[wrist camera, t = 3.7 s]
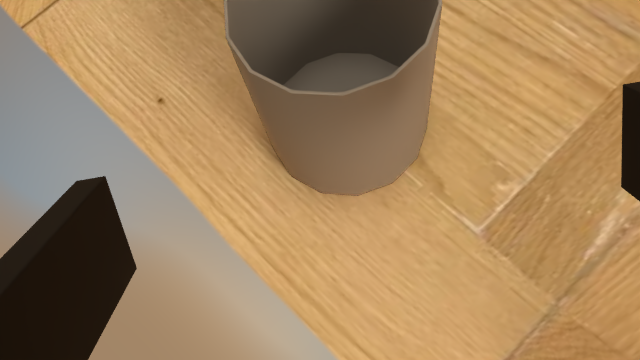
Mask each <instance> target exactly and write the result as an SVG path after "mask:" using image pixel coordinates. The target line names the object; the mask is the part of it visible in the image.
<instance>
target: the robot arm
mask: <svg viewBox="0 0 640 360" xmlns="http://www.w3.org/2000/svg"><path fill="white" fill-rule="evenodd" d="M621 187H622V188H623V189H625V190H626V191H627V192H628V193H630V194H631V195H632V196H634V197H635V198H636V199H637V200H639V201H640V82H635V83H630V84H624V85H623V111H622V178H621ZM135 270H136V265H135V262H134V259H133V256H132V253H131V250H130V247H129V244H128V242H127V239H126V235H125V233H124V230H123V227H122V224H121V221H120V218H119V215H118V212H117V209H116V206H115V203H114V200H113V198H112V195H111V192H110V189H109V186H108V183H107V180H106V177H104V176H103V177H98V178H92V179H86V180H80V181H76V182H75V183H74V184H73V185H72V186H71V187H70V188H69V189H68V190H67V191H66V192H65V193H64V194H63V195H62V196H61V197H60V198H59V200H57V202H56V203H55V204H54V205H53V206H52V207H51V208H50V209H49V210H48V211H47V212H46V213H45V214H44V215H43V216H42V217H41V218H40V219H39V220H38V221H37V222H36V223H35V224H34V225H33V226H32V227H31V228H30V229H29V230H28V231H27V232H26V233H25V234H24V235H23V236H22V237H21V238H20V239H19V240H18V241H17V242H16V243H15V244H14V246H12V247H11V249H9V250H8V252H6V253H5V254H4V255H3V257H2V258H1V259H0V360H88V359H89V357H90V355H91V353H92V351H93V349H94V347H95V345H96V344H97V342H98V339H99V338H100V336H101V334H102V332H103V330H104V329H105V327H106V325H107V323H108V321H109V319H110V317H111V315H112V314H113V312H114V310H115V308H116V306H117V304H118V302H119V300H120V298H121V297H122V295H123V293H124V291H125V289H126V287H127V285H128V283H129V282H130V279H131V278H132V276H133V274H134V272H135Z"/></svg>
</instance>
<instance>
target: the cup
mask: <svg viewBox="0 0 640 360" xmlns="http://www.w3.org/2000/svg"><path fill="white" fill-rule="evenodd" d="M441 9H442V0H224V13H225V32H226V39H227V42H228V44H229V46H230V49H231V51H232V53H233V56H234V58H235V60H236V63H237V65H238V67H239V70H240V72H241V74H242V77H243V79H244V81H245V84H246V86H247V88H248V91H249V93H250V95H251V98H252V100H253V102H254V105H255V107H256V109H257V112H258V114H259V116H260V119H261V121H262V123H263V126H264V128H265V130H266V133H267V135H268V137H269V140H270V142H271V144H272V147H273V149H274V151H275V152H276V154H277V155H278V157H279V158H280V160H281V161H282V163H283V164H284V166H285V167H286V169H287V170H288V172H289V173H290V175H291V176H292V177H294V178H295V179H297V180H299V181H301V182H303V183H304V184H306V185H308V186H310V187H312V188H313V189H315V190H317V191H319V192H321V193H328V194H343V195H357V196H358V195H361V194H363V193H366V192H369V191H372V190H374V189H377V188H380V187H383V186H385V185H388V184H391V183H393V182H394V181H395V180H396V179H397V178H398V177H399V176H400V175H401V174H402V173H403V172H404V171H405V170H406V169H407V168H408V167H409V166H410V165H411V164H412V163H413V162H414V161H415V160H416V159H417V157H418V153H419V150H420V147H421V144H422V141H423V138H424V135H425V132H426V128H427V122H428V114H429V106H430V98H431V90H432V82H433V74H434V66H435V58H436V49H437V41H438V33H439V25H440V17H441Z"/></svg>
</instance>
